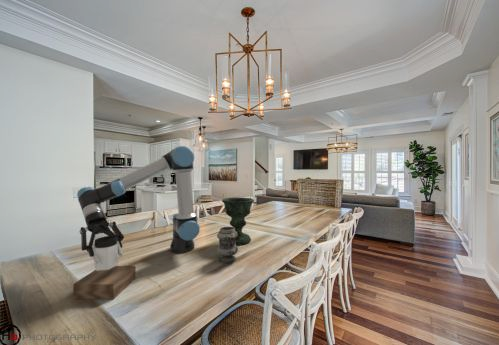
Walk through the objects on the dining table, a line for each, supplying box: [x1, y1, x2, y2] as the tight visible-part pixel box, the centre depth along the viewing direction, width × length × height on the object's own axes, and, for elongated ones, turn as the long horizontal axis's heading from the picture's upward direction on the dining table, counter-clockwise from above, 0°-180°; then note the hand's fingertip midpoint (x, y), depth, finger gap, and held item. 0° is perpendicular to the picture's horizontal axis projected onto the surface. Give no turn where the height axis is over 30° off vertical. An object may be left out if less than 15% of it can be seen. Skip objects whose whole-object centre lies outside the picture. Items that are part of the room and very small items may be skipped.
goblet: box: [221, 196, 255, 246], centre depth 153 cm, size 22×23×30 cm
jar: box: [93, 235, 119, 271], centre depth 93 cm, size 9×8×12 cm
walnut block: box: [72, 265, 136, 300], centre depth 93 cm, size 16×16×6 cm
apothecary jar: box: [216, 225, 239, 264], centre depth 122 cm, size 12×12×18 cm
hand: (109, 258), depth 91 cm, fingers closed on jar, 8 cm apart
